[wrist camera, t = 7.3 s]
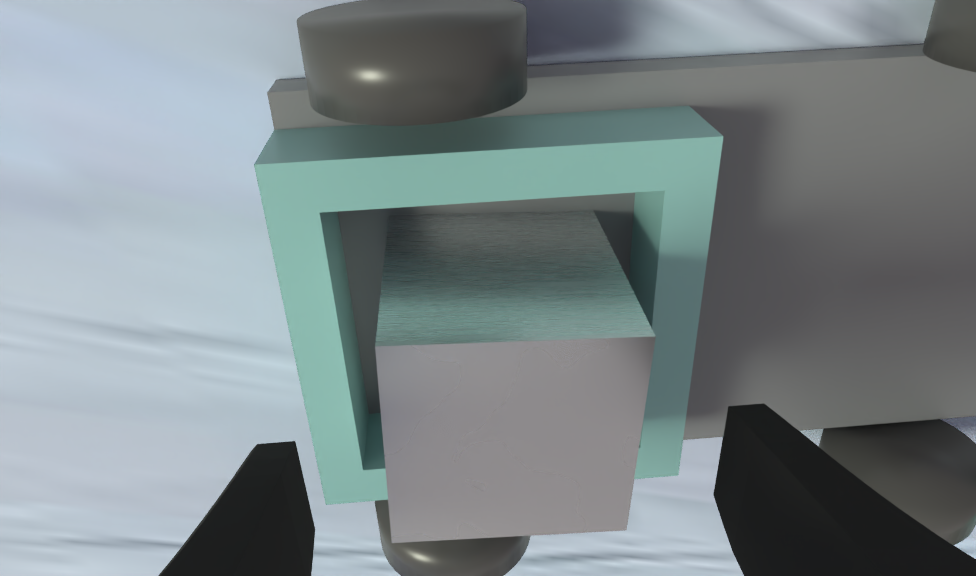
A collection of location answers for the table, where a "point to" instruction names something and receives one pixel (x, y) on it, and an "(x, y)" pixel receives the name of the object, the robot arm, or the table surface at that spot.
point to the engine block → (508, 376)
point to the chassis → (652, 231)
